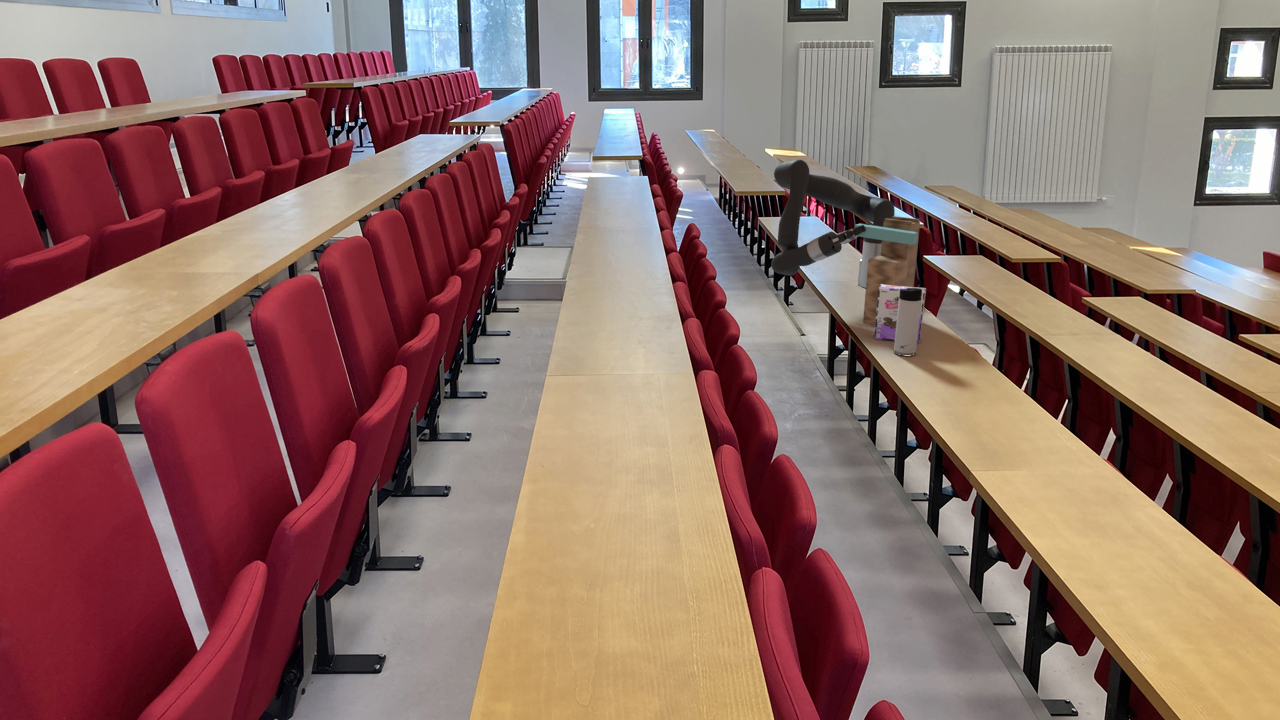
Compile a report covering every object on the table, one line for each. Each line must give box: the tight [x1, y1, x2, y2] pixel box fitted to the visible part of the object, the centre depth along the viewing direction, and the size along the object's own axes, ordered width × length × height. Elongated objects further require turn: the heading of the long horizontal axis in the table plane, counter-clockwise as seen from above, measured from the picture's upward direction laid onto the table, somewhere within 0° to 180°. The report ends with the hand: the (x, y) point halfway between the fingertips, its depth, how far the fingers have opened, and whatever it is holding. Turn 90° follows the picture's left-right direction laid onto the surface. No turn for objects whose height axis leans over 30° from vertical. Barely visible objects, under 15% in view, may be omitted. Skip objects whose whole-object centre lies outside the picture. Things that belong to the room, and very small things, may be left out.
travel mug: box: [893, 287, 922, 355], centre depth 265 cm, size 6×7×20 cm
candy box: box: [873, 284, 927, 344], centre depth 279 cm, size 14×6×16 cm, turn 70°
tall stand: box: [881, 215, 921, 287], centre depth 300 cm, size 9×8×33 cm
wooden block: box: [862, 255, 908, 325], centre depth 296 cm, size 10×8×21 cm
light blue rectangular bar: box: [853, 223, 918, 245], centre depth 291 cm, size 20×4×4 cm, turn 51°
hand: (867, 226), depth 295 cm, fingers closed on light blue rectangular bar, 3 cm apart
